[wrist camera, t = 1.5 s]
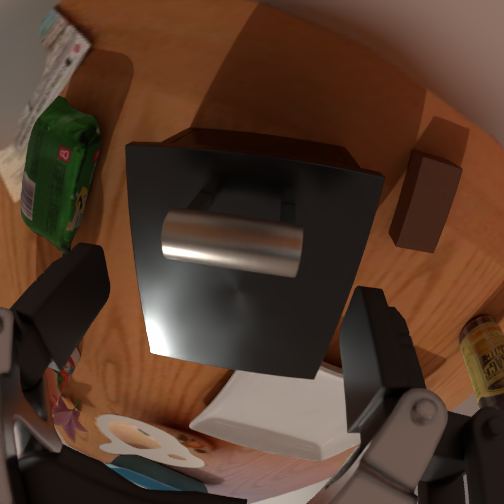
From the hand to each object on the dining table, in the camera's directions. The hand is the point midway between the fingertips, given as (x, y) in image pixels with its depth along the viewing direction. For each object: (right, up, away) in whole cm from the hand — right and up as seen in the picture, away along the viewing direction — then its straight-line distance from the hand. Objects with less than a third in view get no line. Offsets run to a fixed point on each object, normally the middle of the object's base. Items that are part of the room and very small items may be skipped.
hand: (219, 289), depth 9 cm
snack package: (-17, +9, +17) cm, 26 cm away
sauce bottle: (+30, -9, +22) cm, 38 cm away
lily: (-41, -34, +47) cm, 72 cm away
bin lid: (0, -1, +9) cm, 9 cm away
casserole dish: (-28, -70, +68) cm, 102 cm away
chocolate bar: (+16, +6, +14) cm, 22 cm away
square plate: (+8, -22, +33) cm, 40 cm away
